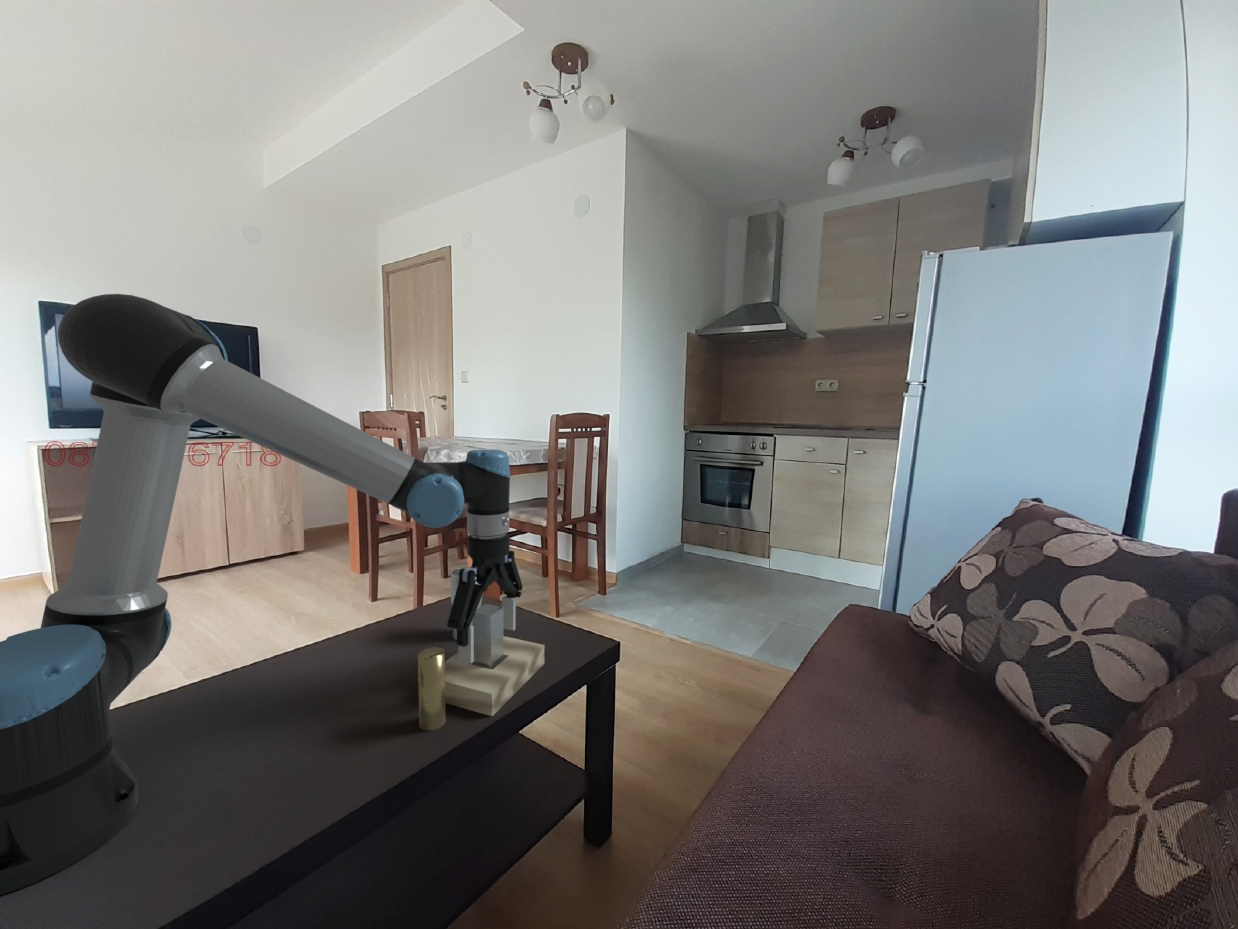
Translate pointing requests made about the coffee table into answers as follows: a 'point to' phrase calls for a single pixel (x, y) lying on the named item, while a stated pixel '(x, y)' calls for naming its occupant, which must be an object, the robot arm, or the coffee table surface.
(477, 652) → the square bit
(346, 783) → the coffee table surface
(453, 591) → the beer glass
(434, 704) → the round bit
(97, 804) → the robot arm
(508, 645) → the socket block
